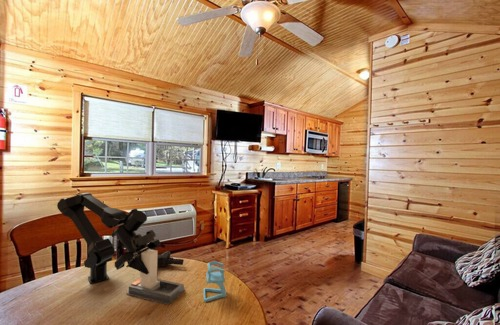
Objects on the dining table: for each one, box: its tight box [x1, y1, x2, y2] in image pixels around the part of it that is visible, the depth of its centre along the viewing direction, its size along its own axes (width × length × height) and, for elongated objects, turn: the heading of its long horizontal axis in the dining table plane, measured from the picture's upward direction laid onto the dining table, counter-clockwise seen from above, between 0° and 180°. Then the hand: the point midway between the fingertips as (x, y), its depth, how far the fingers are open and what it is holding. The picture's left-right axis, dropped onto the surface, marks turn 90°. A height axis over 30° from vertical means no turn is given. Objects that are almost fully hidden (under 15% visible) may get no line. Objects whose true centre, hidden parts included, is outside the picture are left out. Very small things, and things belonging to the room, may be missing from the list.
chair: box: [203, 260, 227, 303], centre depth 89 cm, size 8×8×12 cm
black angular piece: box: [157, 250, 184, 268], centre depth 112 cm, size 5×20×15 cm
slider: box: [137, 249, 160, 290], centre depth 91 cm, size 6×5×14 cm
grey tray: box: [126, 277, 186, 306], centre depth 90 cm, size 18×10×3 cm, turn 73°
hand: (152, 271), depth 90 cm, fingers closed on slider, 4 cm apart
